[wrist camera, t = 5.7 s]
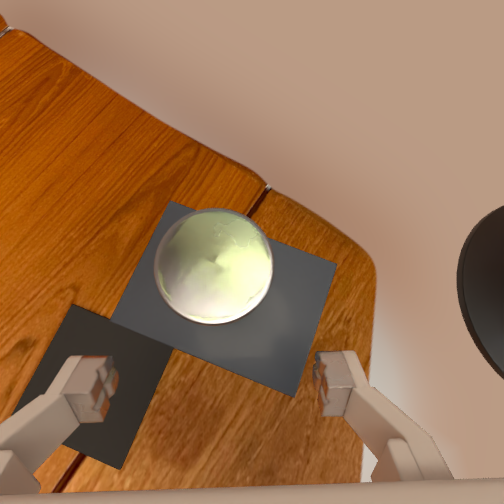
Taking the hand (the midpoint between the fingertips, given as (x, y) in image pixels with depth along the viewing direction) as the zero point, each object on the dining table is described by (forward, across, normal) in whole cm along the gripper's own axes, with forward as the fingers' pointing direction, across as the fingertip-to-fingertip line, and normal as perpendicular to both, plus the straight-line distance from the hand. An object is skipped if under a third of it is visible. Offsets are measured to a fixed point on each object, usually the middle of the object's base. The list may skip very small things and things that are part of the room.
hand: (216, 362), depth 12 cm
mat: (+11, +14, +17) cm, 25 cm away
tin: (+9, 0, +4) cm, 10 cm away
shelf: (+17, 0, +11) cm, 20 cm away
